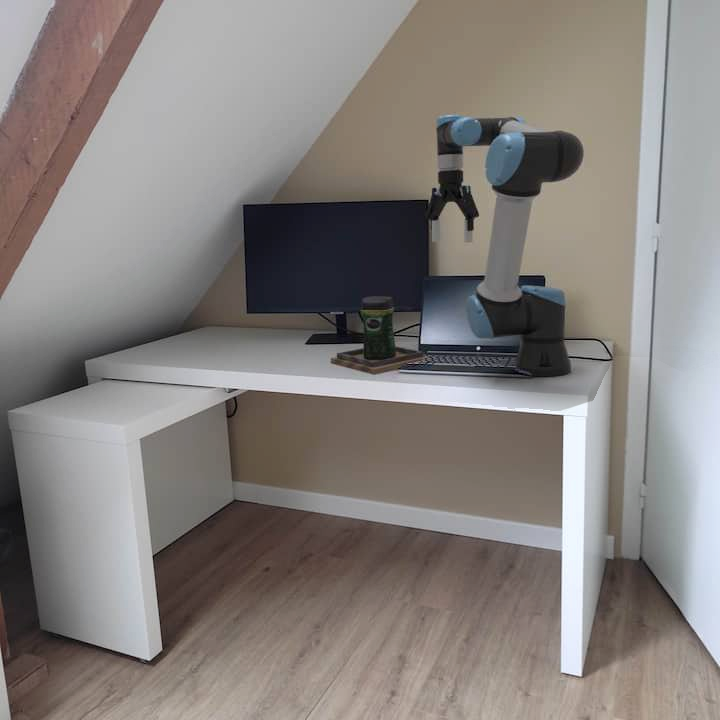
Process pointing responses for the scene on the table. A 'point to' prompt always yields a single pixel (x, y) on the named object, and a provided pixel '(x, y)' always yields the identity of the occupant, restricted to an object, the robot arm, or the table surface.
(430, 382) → the table surface
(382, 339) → the coffee jar
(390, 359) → the wooden tray
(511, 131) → the robot arm
